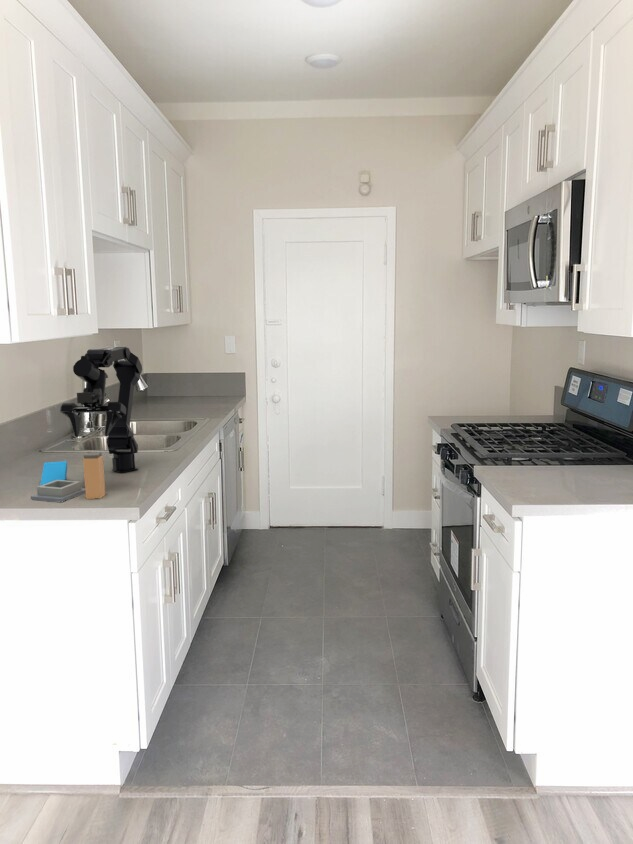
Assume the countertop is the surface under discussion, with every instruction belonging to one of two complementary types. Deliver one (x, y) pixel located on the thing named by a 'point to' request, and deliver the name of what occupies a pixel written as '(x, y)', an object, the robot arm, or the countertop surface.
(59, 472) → the blue block
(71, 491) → the jig cradle
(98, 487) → the block
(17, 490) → the countertop surface
